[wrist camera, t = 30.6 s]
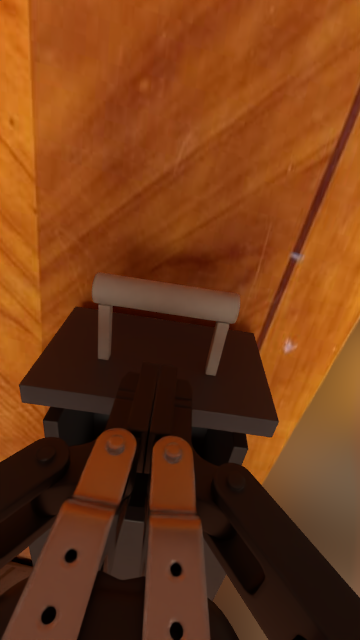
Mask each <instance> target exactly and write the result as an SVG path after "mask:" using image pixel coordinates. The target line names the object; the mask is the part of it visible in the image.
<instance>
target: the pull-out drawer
mask: <svg viewBox="0 0 360 640" xmlns="http://www.w3.org/2000/svg"><path fill="white" fill-rule="evenodd" d="M92 299H93V302H95V303H99V305H98V310H95V309H89V308H82V307H75V308H74V310H73V311H72V312H71V314H70V315H69V316H68V318H67V319H66V321H65V322H64V323H63V325H62V326H61V328H60V329H59V330H58V332H57V333H56V334H55V336H54V337H53V339H52V340H51V341H50V343H49V344H48V346H47V347H46V348H45V350H44V351H43V352H42V354H41V355H40V357H39V358H38V359H37V361H36V362H35V364H34V365H33V366H32V368H31V369H30V370H29V372H28V373H27V375H26V376H25V377H24V379H23V380H22V381H21V383H20V384H19V387H20V393H21V399H22V402H23V403H30V404H37V405H44V406H51V407H50V408H49V410H48V412H47V414H46V416H45V418H44V419H43V425H44V433H45V438H46V437H57V438H60V439H62V440H64V441H65V442H66V443H67V445H68V446H74V445H80V444H86V443H89V442H91V441H93V440H95V439H97V438H98V437H99V435H100V434H102V433H103V432H104V430H105V428H106V425H107V422H108V419H109V416H110V413H111V410H112V407H113V403H114V400H115V398H116V394H117V391H118V388H119V385H120V382H121V379H122V378H123V377H124V376H125V375H126V374H127V373H128V372H129V371H130V372H137V373H140V371H141V368H142V364H143V361H146V362H152V363H159V364H160V366H159V373H158V380H159V374H160V368H161V364H166V365H173V366H178V368H177V378H179V379H186V380H188V381H189V383H190V385H191V387H192V389H193V393H192V429H191V442H192V446H193V448H194V450H195V452H196V453H197V454H198V455H199V456H200V457H201V458H202V459H204V460H206V461H207V462H210V463H212V464H214V465H216V466H218V467H219V466H220V465H222V464H225V463H236V464H239V465H242V463H243V460H244V458H245V455H246V453H247V450H248V445H247V439H246V434H251V435H259V436H266V437H272V436H273V433H274V431H275V429H276V427H277V425H278V422H279V420H278V417H277V413H276V410H275V406H274V403H273V399H272V396H271V392H270V389H269V385H268V382H267V378H266V375H265V371H264V368H263V364H262V361H261V357H260V354H259V350H258V347H257V343H256V340H255V336H254V333H248V332H242V331H235V330H228V328H229V323H232V324H233V323H235V322H236V320H237V317H238V314H239V309H240V296H239V294H237V293H230V292H224V291H217V290H211V289H204V288H198V287H191V286H185V285H178V284H172V283H165V282H159V281H152V280H146V279H139V278H133V277H126V276H120V275H113V274H107V273H101V272H99V273H97V274H96V276H95V278H94V281H93V286H92ZM113 306H120V307H126V308H133V309H139V310H146V311H153V312H159V313H166V314H173V315H179V316H186V317H192V318H199V319H206V320H212V321H216V324H215V327H208V326H202V325H195V324H188V323H182V322H175V321H168V320H162V319H155V318H149V317H142V316H135V315H129V314H122V313H115V312H112V311H113ZM158 380H157V385H158ZM156 391H157V387H156ZM155 397H156V394H155ZM154 403H155V401H154ZM153 409H154V407H153ZM152 415H153V413H152ZM151 421H152V418H151ZM150 427H151V424H150ZM149 433H150V430H149ZM148 440H149V436H148ZM147 447H148V442H147ZM146 455H147V448H146V453H145V459H144V465H143V471H142V473H138V472H137V473H136V478H135V483H134V488H133V490H132V493H131V497H130V501H129V504H128V506H135V507H142V508H145V499H146V491H147V484H148V478H149V474H146V473H144V469H145V462H146Z"/></svg>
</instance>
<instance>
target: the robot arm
mask: <svg viewBox="0 0 360 640" xmlns="http://www.w3.org/2000/svg"><path fill="white" fill-rule="evenodd" d="M159 366H160V364H159V363H152V362H146V361H143V364H142V368H141V371H140V373H137V372H130V371H129V372H128V373H127V374H126V375H125V376H124V377H123V378H122V379H121V382H120V385H119V388H118V391H117V394H116V398H115V400H114V403H113V407H112V410H111V413H110V416H109V419H108V422H107V425H106V428H105V430H104V432H103V433H102V434H100V435H99V437H98V438H97V439H95V440H93V441H91V442H89V443H86V444H80V445H74V446H68V445H67V443H66V442H65V441H64V440H62V439H60V438H57V437H46V438H42V439H39V440H37V441H35V442H34V443H32V444H30V445H29V446H27V447H25V448H24V449H22V450H20V451H19V452H17V453H15V454H14V455H12V456H10V457H9V458H7V459H5V460H3V461H2V462H0V569H1V568H3V567H4V566H5V565H6V564H7V563H9V562H10V561H11V560H12V559H13V558H15V557H16V556H17V555H18V554H20V553H21V552H22V551H23V550H24V549H26V548H27V547H28V546H29V545H30V544H32V543H33V542H34V541H35V540H37V539H38V538H39V537H40V536H41V535H43V534H44V533H45V532H46V531H47V530H49V529H50V528H51V527H52V528H51V530H50V532H49V535H48V537H47V539H46V541H45V544H44V546H43V548H42V550H41V552H40V555H39V557H38V559H37V561H36V563H35V566H34V568H33V570H32V572H31V574H30V576H29V577H27V578H25V579H23V580H21V581H20V582H18V583H17V584H15V585H13V586H12V587H11V588H9V589H8V590H7V591H5V592H4V593H3V594H2V595H1V596H0V640H239V639H238V637H237V635H236V633H235V631H234V629H233V628H232V626H231V624H230V623H229V621H228V619H227V618H226V617H225V615H224V614H223V612H222V611H221V610H220V609H219V608H218V607H217V606H216V604H215V603H214V602H212V601H211V600H210V599H209V598H208V597H207V586H206V573H205V559H204V545H203V538H204V540H205V541H206V543H207V544H208V546H209V548H210V549H211V551H212V552H213V554H214V555H215V557H216V558H217V560H218V562H219V563H220V565H221V566H222V568H223V569H224V571H225V572H226V574H227V576H228V577H229V578H230V580H231V582H232V583H233V585H234V587H235V588H236V590H237V591H238V593H239V594H240V596H241V597H242V599H243V600H244V602H245V604H246V605H247V607H248V608H249V610H250V611H251V613H252V615H253V616H254V618H255V619H256V621H257V622H258V624H259V626H260V627H261V629H262V630H263V632H264V633H265V635H266V636H267V638H268V639H269V640H360V598H359V597H358V595H357V594H356V593H355V592H354V591H353V590H352V589H351V587H349V585H348V584H347V583H346V582H345V581H344V580H343V578H341V576H340V575H339V574H338V573H337V571H336V570H335V569H334V568H333V567H332V566H331V565H330V563H329V562H328V561H327V560H326V559H325V558H324V556H323V555H322V554H321V553H320V552H319V551H318V550H317V549H316V547H315V546H314V545H313V544H312V543H311V542H310V541H309V540H308V538H307V537H306V536H305V535H304V534H303V532H302V531H301V530H300V529H299V528H298V527H297V526H296V524H295V523H294V522H293V521H292V520H291V519H290V518H289V516H288V515H287V514H286V513H285V512H284V511H283V510H282V508H280V506H279V505H278V504H277V503H276V501H274V499H273V498H272V497H271V496H270V495H269V493H268V492H267V491H266V490H265V489H264V488H263V487H262V485H261V484H260V483H259V482H258V481H257V480H256V479H255V477H254V476H253V475H252V474H251V473H250V472H249V471H248V470H247V469H246V468H245V467H243V466H241V465H239V464H236V463H225V464H222V465H220V466H219V467H218V466H216V465H214V464H212V463H210V462H207V461H206V460H204V459H202V458H201V457H200V456H199V455H198V454H197V453H196V452H195V450H194V448H193V446H192V442H191V429H192V393H193V389H192V387H191V385H190V383H189V381H188V380H186V379H179V378H177V368H178V366H173V365H166V364H161V368H160V374H159V380H158V373H159ZM157 380H158V385H157ZM156 387H157V391H156ZM155 394H156V397H155ZM154 401H155V403H154ZM153 407H154V409H153ZM152 413H153V415H152ZM151 418H152V421H151ZM150 424H151V427H150ZM149 430H150V433H149ZM148 436H149V440H148ZM147 442H148V447H147ZM146 448H147V455H146V462H145V469H144V473H146V474H149V478H148V484H147V491H146V499H145V512H144V525H143V539H142V552H141V562H140V571H139V577H137V578H132V579H127V580H120V579H117V578H115V577H113V576H111V573H112V568H113V564H114V558H115V553H116V549H117V545H118V542H119V538H120V534H121V530H122V527H123V523H124V519H125V516H126V512H127V508H128V504H129V501H130V497H131V493H132V490H133V488H134V483H135V478H136V473H137V472H138V473H142V471H143V465H144V459H145V453H146Z"/></svg>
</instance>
